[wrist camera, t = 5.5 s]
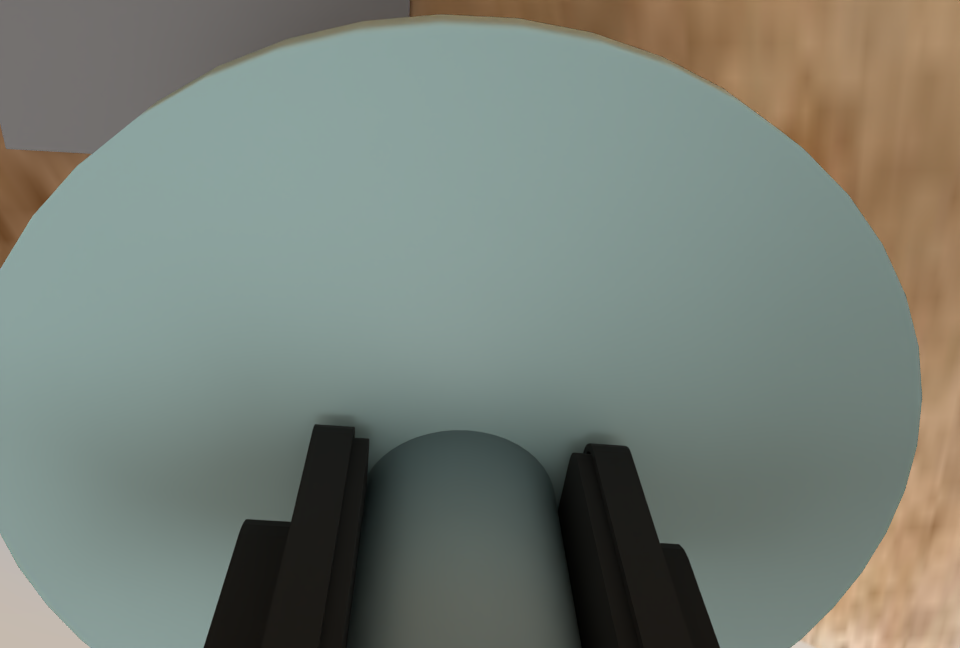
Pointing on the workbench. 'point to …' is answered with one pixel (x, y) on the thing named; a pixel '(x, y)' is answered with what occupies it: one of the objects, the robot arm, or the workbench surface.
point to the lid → (450, 338)
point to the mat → (134, 56)
